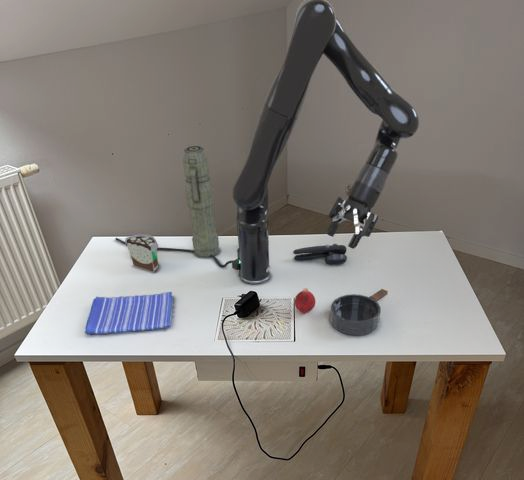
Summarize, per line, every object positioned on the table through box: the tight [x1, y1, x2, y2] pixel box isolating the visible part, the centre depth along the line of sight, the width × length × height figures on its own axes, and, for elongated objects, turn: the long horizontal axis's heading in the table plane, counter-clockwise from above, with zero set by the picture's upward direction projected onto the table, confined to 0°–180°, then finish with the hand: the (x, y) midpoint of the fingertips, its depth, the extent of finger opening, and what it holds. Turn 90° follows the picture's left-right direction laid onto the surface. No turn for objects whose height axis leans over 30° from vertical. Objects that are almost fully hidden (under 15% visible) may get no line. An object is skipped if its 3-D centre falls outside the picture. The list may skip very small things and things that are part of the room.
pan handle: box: [368, 288, 389, 303], centre depth 135 cm, size 7×2×2 cm, turn 133°
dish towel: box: [84, 291, 174, 335], centre depth 138 cm, size 17×24×3 cm
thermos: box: [182, 145, 220, 259], centre depth 156 cm, size 9×12×35 cm
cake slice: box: [124, 233, 159, 274], centre depth 158 cm, size 12×6×10 cm, turn 58°
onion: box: [294, 287, 316, 314], centre depth 134 cm, size 6×6×8 cm
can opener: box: [292, 243, 348, 266], centre depth 158 cm, size 18×7×6 cm, turn 82°
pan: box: [329, 294, 382, 336], centre depth 130 cm, size 13×13×5 cm
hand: (340, 241), depth 132 cm, fingers open, 8 cm apart
